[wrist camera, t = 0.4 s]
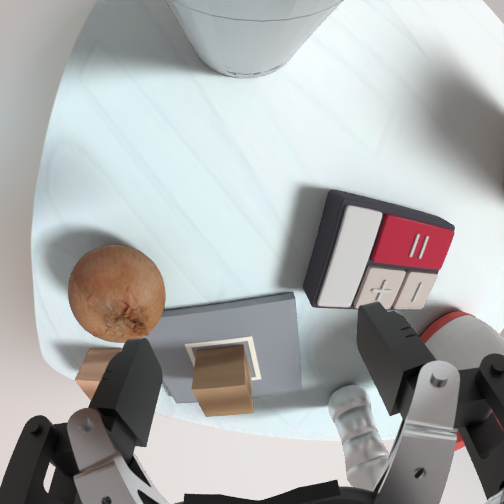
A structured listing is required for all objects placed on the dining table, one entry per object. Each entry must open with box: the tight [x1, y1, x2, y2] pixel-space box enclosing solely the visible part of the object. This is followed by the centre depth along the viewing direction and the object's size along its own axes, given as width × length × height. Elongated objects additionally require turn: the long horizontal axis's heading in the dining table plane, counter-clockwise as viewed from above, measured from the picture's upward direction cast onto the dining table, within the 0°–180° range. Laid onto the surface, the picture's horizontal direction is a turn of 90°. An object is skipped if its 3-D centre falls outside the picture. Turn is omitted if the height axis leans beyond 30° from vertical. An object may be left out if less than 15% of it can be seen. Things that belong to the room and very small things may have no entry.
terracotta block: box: [75, 348, 122, 400], centre depth 31 cm, size 6×6×6 cm
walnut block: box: [192, 344, 254, 417], centre depth 30 cm, size 6×6×6 cm
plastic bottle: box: [328, 385, 389, 491], centre depth 30 cm, size 6×7×20 cm
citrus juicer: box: [420, 311, 504, 451], centre depth 27 cm, size 16×17×20 cm
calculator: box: [303, 190, 455, 310], centre depth 27 cm, size 11×4×15 cm
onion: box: [68, 245, 165, 343], centre depth 24 cm, size 10×9×10 cm
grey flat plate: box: [142, 292, 302, 403], centre depth 33 cm, size 16×18×1 cm
